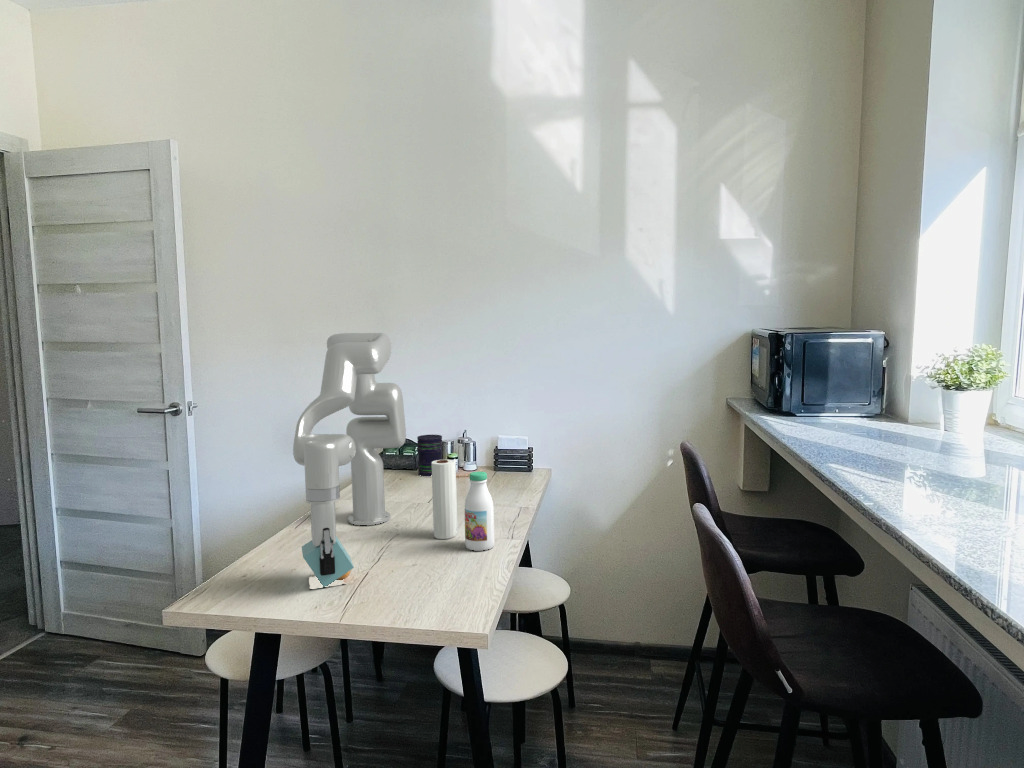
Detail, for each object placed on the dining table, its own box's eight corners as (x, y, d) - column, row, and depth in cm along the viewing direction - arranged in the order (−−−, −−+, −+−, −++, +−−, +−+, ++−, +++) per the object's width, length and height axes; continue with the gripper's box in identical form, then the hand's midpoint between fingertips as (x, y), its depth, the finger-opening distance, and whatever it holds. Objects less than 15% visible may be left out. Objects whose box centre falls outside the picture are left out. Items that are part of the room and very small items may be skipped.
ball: (345, 551, 155) (352, 569, 156) (325, 560, 154) (332, 578, 155) (347, 559, 150) (355, 578, 152) (326, 568, 149) (334, 587, 150)
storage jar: (413, 476, 254) (412, 438, 252) (424, 470, 263) (423, 434, 262) (437, 477, 251) (435, 439, 249) (447, 471, 260) (446, 435, 258)
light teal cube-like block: (321, 575, 155) (301, 546, 153) (350, 556, 157) (330, 527, 155) (324, 587, 148) (303, 557, 145) (353, 567, 150) (333, 537, 147)
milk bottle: (478, 540, 178) (477, 468, 177) (500, 545, 174) (498, 472, 172) (459, 547, 173) (457, 473, 171) (480, 554, 168) (479, 477, 166)
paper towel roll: (435, 540, 178) (433, 464, 176) (432, 534, 184) (429, 459, 182) (461, 538, 180) (459, 462, 178) (457, 531, 186) (455, 457, 184)
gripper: (304, 487, 156) (307, 558, 158) (308, 504, 140) (311, 584, 142) (336, 483, 159) (339, 554, 161) (343, 501, 143) (347, 578, 144)
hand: (326, 567), depth 151 cm, fingers closed on light teal cube-like block, 7 cm apart
